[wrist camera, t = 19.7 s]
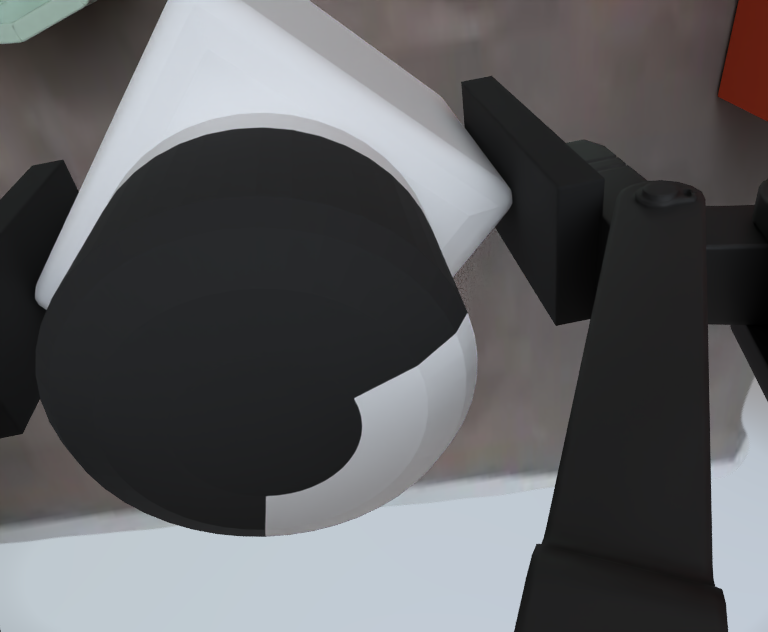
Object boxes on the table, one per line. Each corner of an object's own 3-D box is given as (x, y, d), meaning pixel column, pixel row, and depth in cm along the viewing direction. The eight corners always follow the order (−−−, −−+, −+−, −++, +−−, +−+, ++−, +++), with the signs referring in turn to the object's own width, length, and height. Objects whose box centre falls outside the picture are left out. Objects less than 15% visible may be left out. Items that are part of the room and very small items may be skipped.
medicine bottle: (110, 173, 18) (-109, 515, 8) (224, -64, 15) (99, 18, 5) (319, 280, 21) (346, 626, 11) (448, 100, 18) (642, 351, 8)
